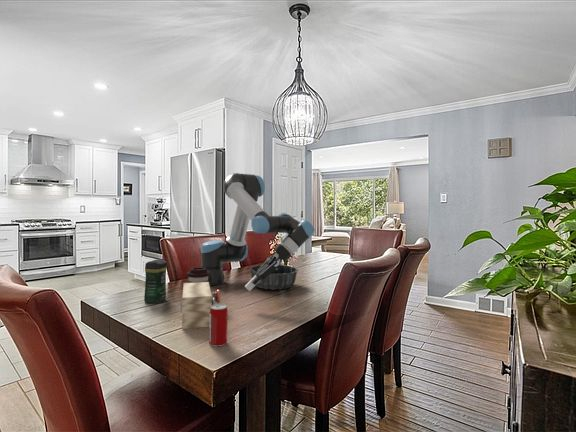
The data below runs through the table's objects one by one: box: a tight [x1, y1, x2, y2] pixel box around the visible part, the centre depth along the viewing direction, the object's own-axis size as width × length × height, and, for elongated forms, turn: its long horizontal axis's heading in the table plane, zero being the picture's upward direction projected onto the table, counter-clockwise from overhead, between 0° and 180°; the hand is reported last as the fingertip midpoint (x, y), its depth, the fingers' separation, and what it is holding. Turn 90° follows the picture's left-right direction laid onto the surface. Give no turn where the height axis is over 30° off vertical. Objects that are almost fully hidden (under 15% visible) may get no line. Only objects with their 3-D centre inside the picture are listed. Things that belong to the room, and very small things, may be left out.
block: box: [181, 282, 212, 330], centre depth 122 cm, size 10×22×11 cm, turn 17°
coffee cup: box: [186, 266, 210, 283], centre depth 142 cm, size 10×10×15 cm
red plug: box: [211, 289, 221, 304], centre depth 128 cm, size 12×6×6 cm, turn 107°
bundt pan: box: [249, 264, 299, 291], centre depth 173 cm, size 26×26×10 cm
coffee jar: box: [143, 258, 168, 304], centre depth 142 cm, size 10×8×19 cm
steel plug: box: [180, 297, 217, 314], centre depth 117 cm, size 12×6×6 cm, turn 107°
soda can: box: [208, 303, 229, 348], centre depth 99 cm, size 6×6×12 cm
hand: (247, 288), depth 134 cm, fingers closed
